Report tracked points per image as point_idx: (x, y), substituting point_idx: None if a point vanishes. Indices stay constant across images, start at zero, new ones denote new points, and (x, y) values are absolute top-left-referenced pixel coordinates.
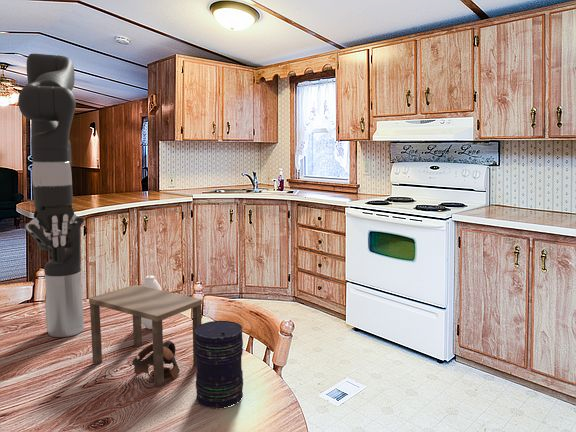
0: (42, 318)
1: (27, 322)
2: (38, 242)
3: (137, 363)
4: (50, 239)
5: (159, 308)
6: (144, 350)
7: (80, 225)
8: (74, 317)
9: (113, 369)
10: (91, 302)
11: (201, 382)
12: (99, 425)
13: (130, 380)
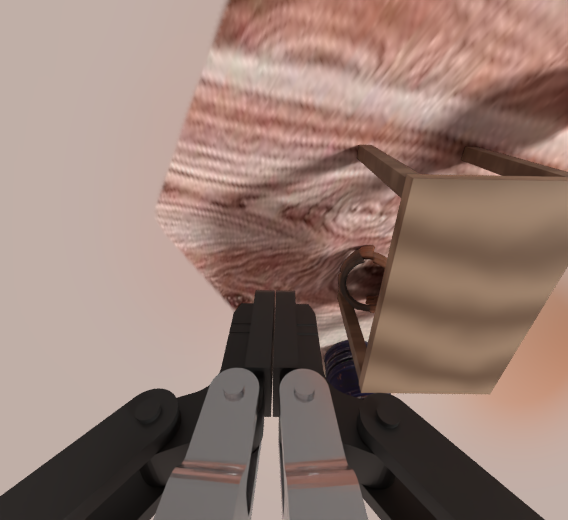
0: None
1: None
2: (119, 416)
3: (341, 283)
4: (233, 435)
5: (403, 371)
6: (383, 267)
7: None
8: None
9: (354, 201)
10: (405, 187)
11: (328, 380)
12: (233, 303)
13: (335, 253)
